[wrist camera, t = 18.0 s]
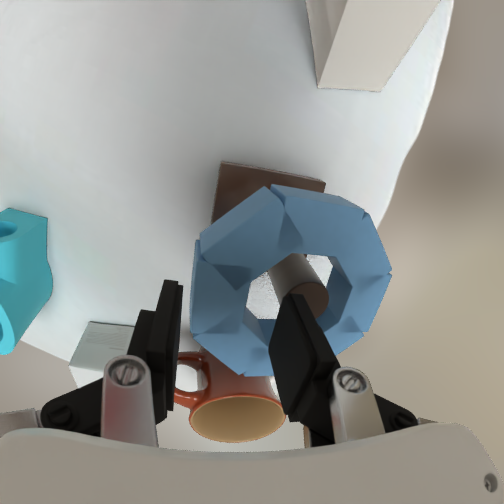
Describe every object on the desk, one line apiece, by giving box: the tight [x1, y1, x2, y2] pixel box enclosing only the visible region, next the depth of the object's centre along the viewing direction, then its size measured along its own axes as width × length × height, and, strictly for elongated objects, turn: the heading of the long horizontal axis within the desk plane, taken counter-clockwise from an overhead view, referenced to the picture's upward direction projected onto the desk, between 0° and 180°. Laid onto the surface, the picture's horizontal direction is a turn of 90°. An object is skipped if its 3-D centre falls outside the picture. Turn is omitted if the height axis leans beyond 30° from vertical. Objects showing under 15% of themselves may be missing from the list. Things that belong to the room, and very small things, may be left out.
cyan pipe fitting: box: [0, 208, 53, 355], centre depth 20 cm, size 12×9×9 cm
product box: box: [68, 322, 135, 388], centre depth 26 cm, size 6×6×7 cm
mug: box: [174, 345, 286, 443], centre depth 26 cm, size 12×9×10 cm
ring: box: [190, 184, 392, 377], centre depth 14 cm, size 10×10×2 cm
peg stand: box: [211, 161, 329, 319], centre depth 19 cm, size 9×9×14 cm
